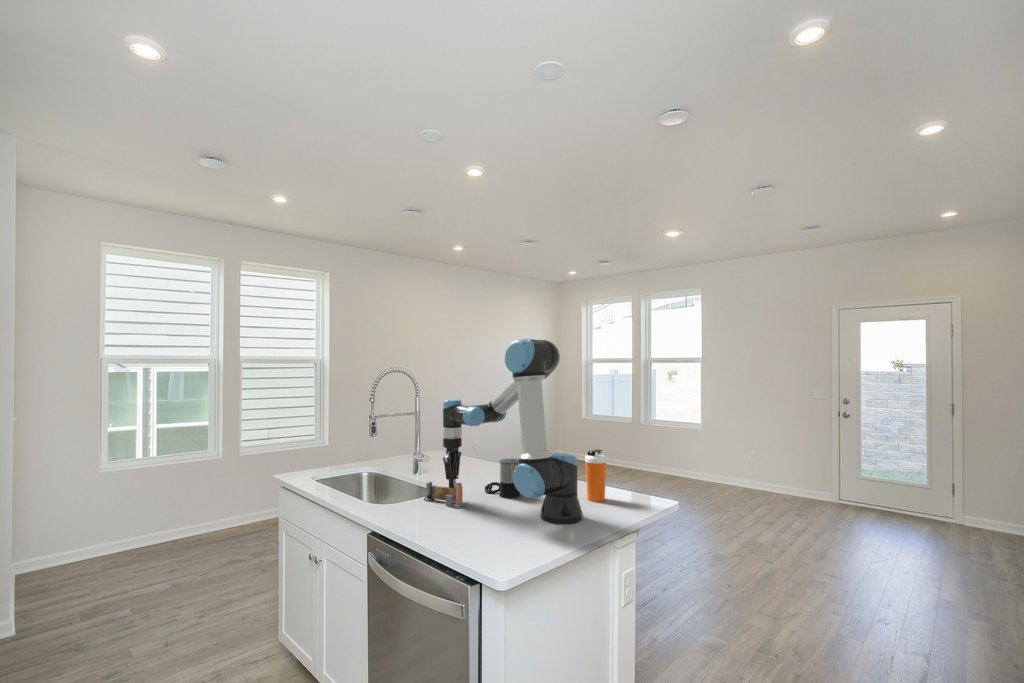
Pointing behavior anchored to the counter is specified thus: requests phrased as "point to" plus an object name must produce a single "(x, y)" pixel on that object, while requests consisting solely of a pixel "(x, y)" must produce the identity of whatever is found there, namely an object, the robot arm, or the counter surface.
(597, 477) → the shaker bottle
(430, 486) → the hinge post
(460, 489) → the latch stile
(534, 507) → the counter surface
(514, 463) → the corded kitchen appliance
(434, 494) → the gate
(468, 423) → the robot arm
